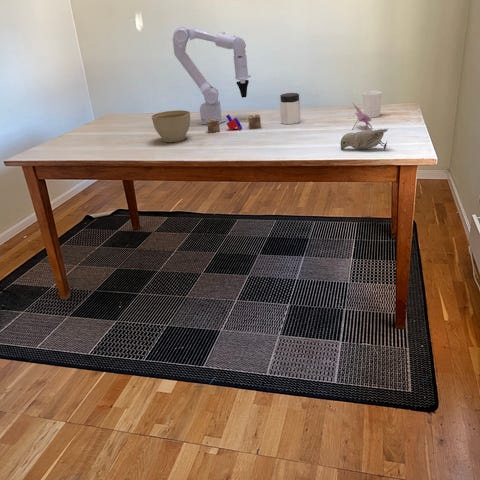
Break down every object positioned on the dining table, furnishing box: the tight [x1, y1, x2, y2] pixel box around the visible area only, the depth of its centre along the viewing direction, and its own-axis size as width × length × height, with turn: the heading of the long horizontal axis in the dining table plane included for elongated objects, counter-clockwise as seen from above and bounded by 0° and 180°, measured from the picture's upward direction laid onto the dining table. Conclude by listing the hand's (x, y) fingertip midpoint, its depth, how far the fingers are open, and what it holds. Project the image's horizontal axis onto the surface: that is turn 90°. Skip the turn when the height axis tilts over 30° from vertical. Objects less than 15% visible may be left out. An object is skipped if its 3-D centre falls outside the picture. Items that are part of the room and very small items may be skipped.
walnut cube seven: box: [206, 119, 221, 134], centre depth 218 cm, size 5×5×5 cm
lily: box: [351, 102, 373, 131], centre depth 199 cm, size 12×12×10 cm
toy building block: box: [225, 114, 243, 131], centre depth 217 cm, size 4×4×8 cm
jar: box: [279, 92, 301, 125], centre depth 219 cm, size 9×8×12 cm
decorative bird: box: [340, 128, 389, 151], centre depth 173 cm, size 5×16×7 cm, turn 73°
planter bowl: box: [150, 109, 191, 143], centre depth 209 cm, size 16×16×11 cm
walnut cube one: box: [247, 114, 262, 130], centre depth 217 cm, size 5×5×5 cm
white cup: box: [362, 90, 383, 119], centre depth 216 cm, size 8×8×10 cm
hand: (244, 97), depth 229 cm, fingers closed
